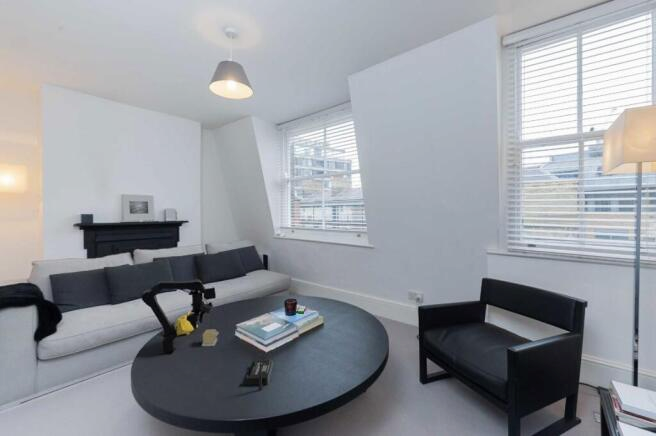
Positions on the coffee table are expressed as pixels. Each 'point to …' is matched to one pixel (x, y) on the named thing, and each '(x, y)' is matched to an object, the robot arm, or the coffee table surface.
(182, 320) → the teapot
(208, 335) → the brushed brass cube
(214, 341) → the hammer
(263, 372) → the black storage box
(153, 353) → the coffee table surface
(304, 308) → the puzzle cube
